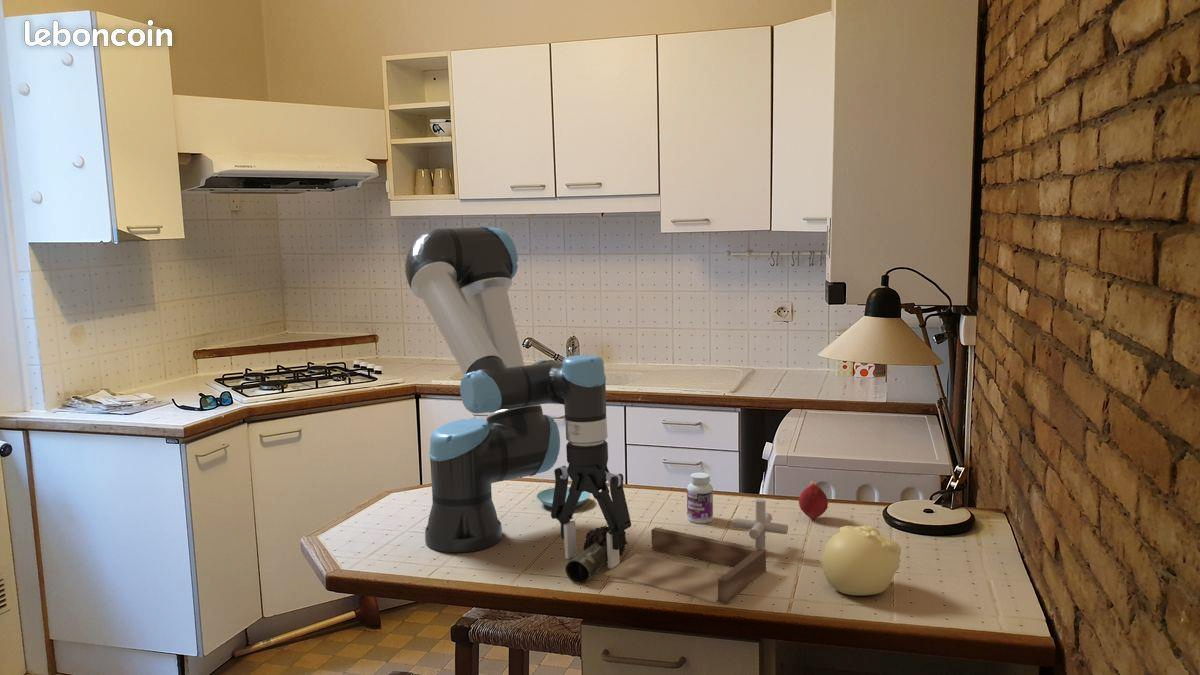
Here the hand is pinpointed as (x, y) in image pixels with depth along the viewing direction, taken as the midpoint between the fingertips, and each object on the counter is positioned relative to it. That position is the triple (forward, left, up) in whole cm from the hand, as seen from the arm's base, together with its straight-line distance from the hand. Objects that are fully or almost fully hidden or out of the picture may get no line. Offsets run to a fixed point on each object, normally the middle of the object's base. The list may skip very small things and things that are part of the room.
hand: (592, 560), depth 165 cm
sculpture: (+45, +14, -1) cm, 47 cm away
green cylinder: (+1, 0, -1) cm, 1 cm away
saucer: (-25, +25, -1) cm, 35 cm away
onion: (+26, +43, -1) cm, 50 cm away
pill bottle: (+6, +31, -1) cm, 32 cm away
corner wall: (+17, +5, 0) cm, 18 cm away
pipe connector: (+24, +21, -1) cm, 32 cm away
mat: (+16, +2, 0) cm, 16 cm away
